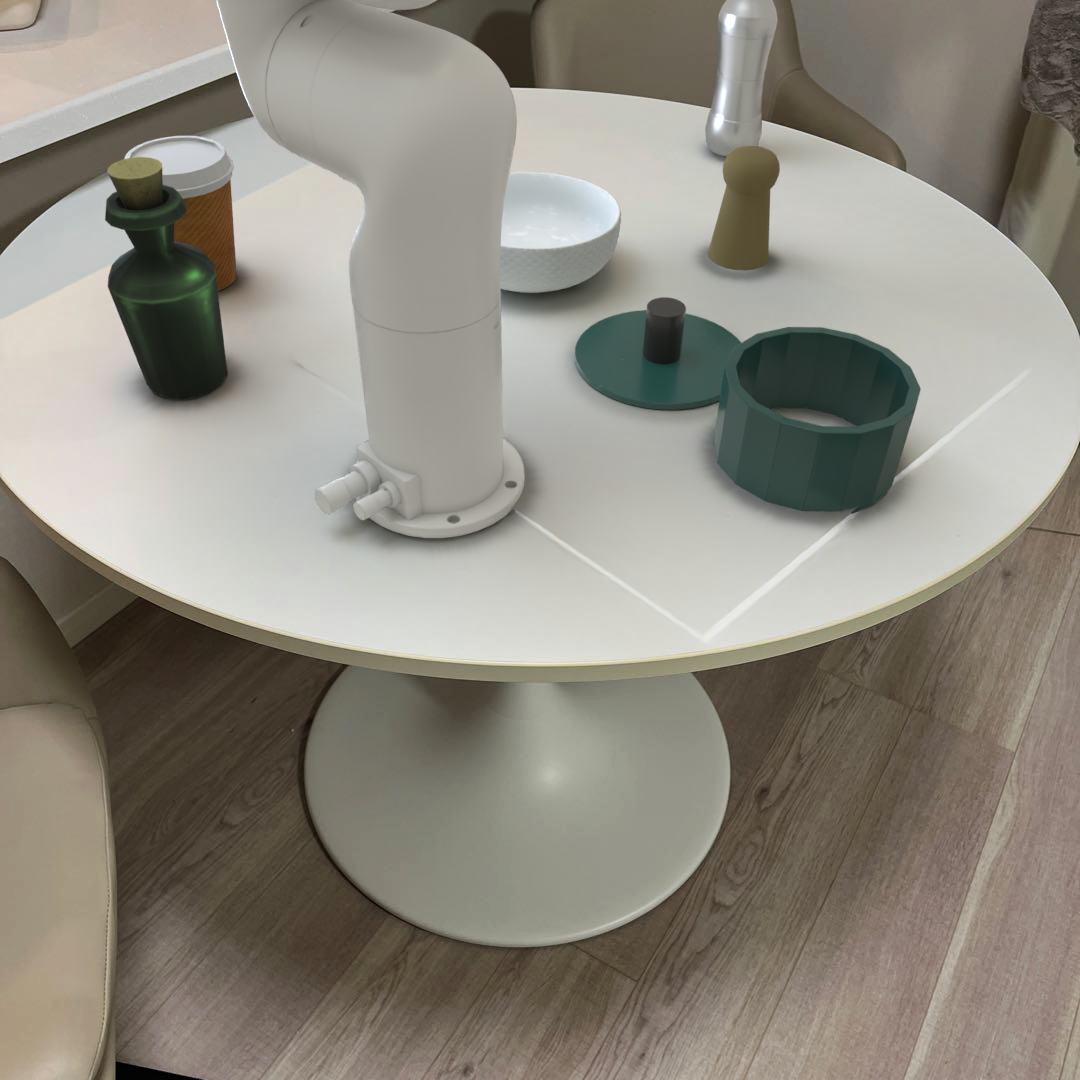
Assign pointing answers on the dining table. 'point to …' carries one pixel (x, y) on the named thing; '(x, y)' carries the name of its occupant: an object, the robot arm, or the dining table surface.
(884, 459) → the pot
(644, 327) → the lid
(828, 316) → the dining table surface
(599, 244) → the cereal bowl
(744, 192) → the olive brown pawn
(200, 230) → the disposable coffee cup
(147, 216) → the potion bottle
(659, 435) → the dining table surface
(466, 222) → the robot arm
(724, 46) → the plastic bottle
